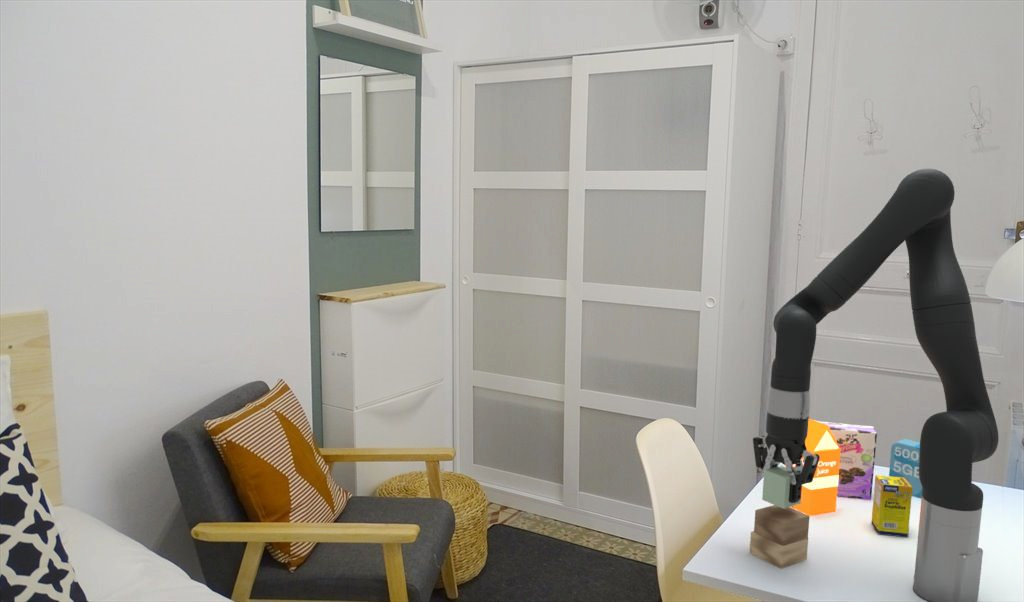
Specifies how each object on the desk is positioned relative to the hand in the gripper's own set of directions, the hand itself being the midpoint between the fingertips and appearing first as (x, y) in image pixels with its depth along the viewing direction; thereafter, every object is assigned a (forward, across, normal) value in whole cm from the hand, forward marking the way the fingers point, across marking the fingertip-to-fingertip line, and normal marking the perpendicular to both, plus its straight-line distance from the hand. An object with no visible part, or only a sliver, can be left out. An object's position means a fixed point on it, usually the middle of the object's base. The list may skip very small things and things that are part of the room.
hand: (781, 496), depth 151 cm
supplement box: (+12, +4, +31) cm, 33 cm away
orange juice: (+12, -13, +27) cm, 32 cm away
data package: (+12, -5, +57) cm, 58 cm away
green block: (+1, 0, 0) cm, 1 cm away
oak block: (+12, 0, 0) cm, 12 cm away
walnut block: (+8, 0, 0) cm, 8 cm away
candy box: (+12, -15, +41) cm, 45 cm away
